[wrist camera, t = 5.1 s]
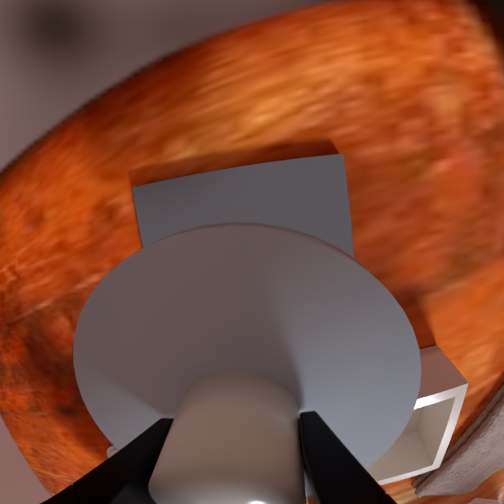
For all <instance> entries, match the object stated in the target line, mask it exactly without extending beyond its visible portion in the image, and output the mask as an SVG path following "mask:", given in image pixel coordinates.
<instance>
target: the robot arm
mask: <svg viewBox="0 0 504 504" xmlns="http://www.w3.org/2000/svg"><path fill="white" fill-rule="evenodd" d="M299 418H300V431H301V444H302V454H303V463H304V475H305V486H306V492H307V497H308V502H309V504H397V503H396V502H395V501H394V500H393V499H392V498H391V496H390V495H389V494H385V493H386V491H385V490H384V489H383V488H382V487H381V486H380V485H379V484H378V482H377V481H376V480H375V479H374V478H373V477H372V476H371V475H370V474H369V472H368V471H367V470H366V469H365V468H364V467H363V466H362V465H361V463H360V462H359V461H358V460H357V459H356V458H355V457H354V455H353V454H352V453H351V452H350V451H349V450H348V448H347V447H346V446H345V445H344V444H343V443H342V441H341V440H340V439H339V438H338V437H337V436H336V434H335V433H334V432H333V431H332V430H331V428H330V427H329V426H328V425H327V424H326V423H325V421H324V420H323V419H322V418H321V417H320V415H319V414H318V413H317V412H316V411H306V412H301V413H300V414H299ZM173 420H174V418H161V419H159V420H158V421H157V422H155V423H154V424H153V425H151V426H150V427H149V428H148V429H146V430H145V431H144V432H143V433H141V434H140V435H139V436H137V437H136V438H135V439H133V440H132V441H131V442H130V443H128V444H127V445H126V446H124V447H123V448H122V449H120V450H119V451H118V452H116V453H115V454H114V455H112V456H111V457H110V458H108V459H107V460H105V461H104V462H103V463H101V464H100V465H99V466H97V467H96V468H94V469H93V470H92V471H90V472H89V473H87V474H86V475H84V476H83V477H82V478H80V479H79V480H77V481H76V482H74V483H73V485H70V486H68V487H67V488H65V489H64V490H62V491H61V492H59V493H58V494H56V495H54V496H53V497H51V498H50V499H48V500H46V501H44V502H42V503H40V504H156V502H155V501H154V500H153V499H152V497H151V495H150V493H149V489H148V485H149V481H150V478H151V476H152V473H153V471H154V468H155V466H156V463H157V461H158V458H159V455H160V453H161V450H162V448H163V445H164V443H165V440H166V438H167V435H168V433H169V430H170V428H171V425H172V423H173Z"/></svg>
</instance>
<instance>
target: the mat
mask: <svg viewBox="0 0 504 504" xmlns="http://www.w3.org/2000/svg"><path fill="white" fill-rule="evenodd" d="M132 191H133V197H134V203H135V209H136V214H137V220H138V225H139V230H140V235H141V240H142V245H143V249H144V248H145V247H147V246H149V245H151V244H152V243H154V242H156V241H158V240H160V239H162V238H165V237H167V236H170V235H172V234H175V233H177V232H180V231H183V230H187V229H191V228H195V227H199V226H203V225H209V224H219V223H229V222H243V223H263V224H269V225H274V226H280V227H286V228H290V229H293V230H296V231H300V232H303V233H306V234H309V235H312V236H315V237H317V238H319V239H321V240H323V241H325V242H327V243H329V244H332V245H334V246H336V247H338V248H339V249H341V250H342V251H344V252H345V253H347V254H348V255H350V256H351V257H353V258H354V251H353V238H352V226H351V215H350V206H349V196H348V188H347V180H346V172H345V165H344V157H343V154H335V155H325V156H315V157H306V158H298V159H289V160H282V161H274V162H267V163H260V164H253V165H246V166H240V167H234V168H228V169H222V170H216V171H210V172H205V173H199V174H194V175H188V176H183V177H178V178H173V179H168V180H164V181H159V182H154V183H150V184H145V185H141V186H136V187H132Z"/></svg>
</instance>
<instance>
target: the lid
mask: <svg viewBox="0 0 504 504" xmlns="http://www.w3.org/2000/svg"><path fill="white" fill-rule="evenodd" d="M73 362H74V369H75V375H76V381H77V384H78V387H79V390H80V393H81V396H82V399H83V401H84V403H85V405H86V407H87V409H88V411H89V413H90V415H91V416H92V418H93V420H94V421H95V423H96V424H97V426H98V427H99V429H100V430H101V431H102V432H103V434H104V435H105V436H106V437H107V439H108V440H109V441H110V442H111V443H112V444H113V445H114V446H115V447H116V448H117V449H118V450H120V449H122V448H123V447H124V446H126V445H127V444H128V443H130V442H131V441H132V440H133V439H135V438H136V437H137V436H139V435H140V434H141V433H143V432H144V431H145V430H146V429H148V428H149V427H150V426H151V425H153V424H154V423H155V422H157V421H158V420H159V419H161V418H174V420H173V423H172V425H171V428H170V430H169V433H168V435H167V438H166V440H165V443H164V445H163V448H162V450H161V453H160V455H159V458H158V461H157V463H156V466H155V468H154V471H153V473H152V476H151V478H150V481H149V485H148V489H149V493H150V495H151V497H152V499H153V500H154V501H155V502H156V504H306V497H307V492H306V486H305V475H304V463H303V454H302V444H301V431H300V418H299V414H300V413H301V412H306V411H316V412H317V413H318V414H319V415H320V417H321V418H322V419H323V420H324V421H325V423H326V424H327V425H328V426H329V427H330V428H331V430H332V431H333V432H334V433H335V434H336V436H337V437H338V438H339V439H340V440H341V441H342V443H343V444H344V445H345V446H346V447H347V448H348V450H349V451H350V452H351V453H352V454H353V455H354V457H355V458H356V459H357V460H358V461H359V462H360V463H361V465H362V466H363V467H364V468H365V469H367V468H368V467H370V466H371V465H372V464H374V463H375V462H376V461H377V460H378V459H379V458H380V457H382V456H383V455H384V454H385V453H386V452H387V451H388V450H389V449H390V447H391V446H392V445H393V444H394V442H395V441H396V440H397V439H398V437H399V436H400V435H401V433H402V431H403V430H404V428H405V426H406V425H407V423H408V421H409V420H410V417H411V415H412V412H413V410H414V407H415V405H416V402H417V398H418V394H419V389H420V382H421V359H420V350H419V346H418V343H417V339H416V336H415V333H414V330H413V328H412V326H411V324H410V322H409V320H408V318H407V316H406V314H405V312H404V310H403V309H402V307H401V306H400V305H399V303H398V302H397V301H396V299H395V298H394V297H393V295H392V294H391V293H390V291H389V290H388V289H387V288H386V287H385V286H384V285H383V284H382V283H381V282H380V281H379V280H378V279H377V278H376V277H375V276H374V275H373V274H372V273H371V272H370V271H369V270H367V269H366V268H365V267H364V266H363V265H362V264H361V263H360V262H359V261H357V260H356V259H354V258H353V257H351V256H350V255H348V254H347V253H345V252H344V251H342V250H341V249H339V248H338V247H336V246H334V245H332V244H329V243H327V242H325V241H323V240H321V239H319V238H317V237H315V236H312V235H309V234H306V233H303V232H300V231H296V230H293V229H290V228H286V227H280V226H274V225H269V224H263V223H243V222H229V223H219V224H209V225H203V226H199V227H195V228H191V229H187V230H183V231H180V232H177V233H175V234H172V235H170V236H167V237H165V238H162V239H160V240H158V241H156V242H154V243H152V244H151V245H149V246H147V247H145V248H144V249H142V250H140V251H139V252H137V253H135V254H134V255H132V256H131V257H129V258H127V259H126V260H124V261H122V262H121V263H120V264H119V265H117V266H116V267H115V268H114V269H113V270H112V271H111V272H109V273H108V274H107V275H106V276H105V277H104V278H103V279H102V280H101V282H100V283H99V284H98V285H97V287H96V288H95V289H94V290H93V292H92V293H91V295H90V296H89V298H88V300H87V302H86V304H85V306H84V307H83V309H82V311H81V314H80V317H79V320H78V323H77V326H76V331H75V337H74V344H73Z"/></svg>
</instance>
